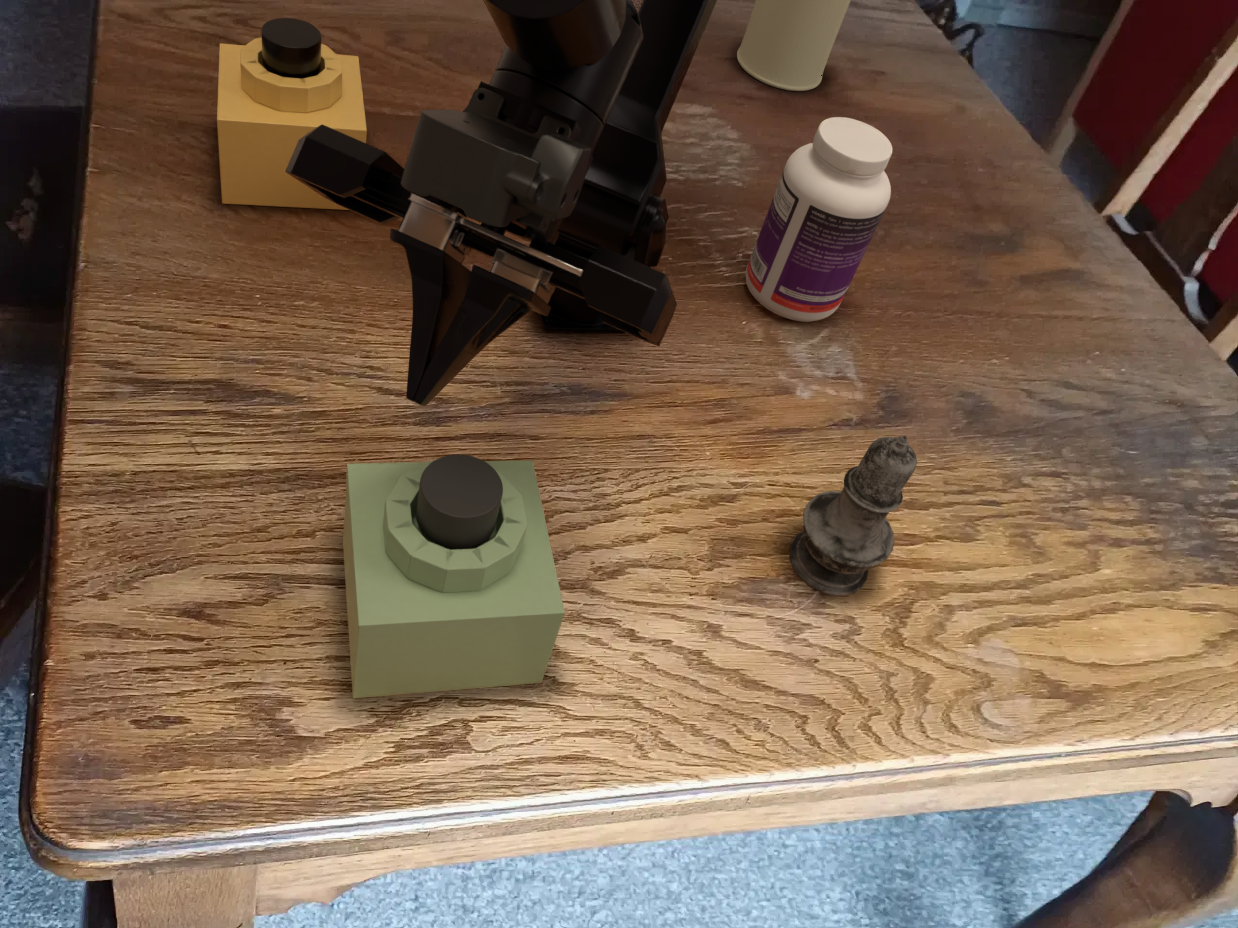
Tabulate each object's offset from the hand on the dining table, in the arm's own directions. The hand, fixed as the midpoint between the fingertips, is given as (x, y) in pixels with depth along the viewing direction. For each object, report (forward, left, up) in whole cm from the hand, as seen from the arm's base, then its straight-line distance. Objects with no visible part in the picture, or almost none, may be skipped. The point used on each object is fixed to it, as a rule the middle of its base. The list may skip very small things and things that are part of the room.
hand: (415, 402), depth 52 cm
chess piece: (-27, +1, -14) cm, 30 cm away
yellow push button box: (+5, -38, -13) cm, 40 cm away
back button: (+5, -38, -5) cm, 38 cm away
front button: (-2, +3, -5) cm, 6 cm away
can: (-44, -61, -14) cm, 76 cm away
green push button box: (-2, +3, -13) cm, 14 cm away
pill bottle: (-33, -25, -14) cm, 43 cm away
